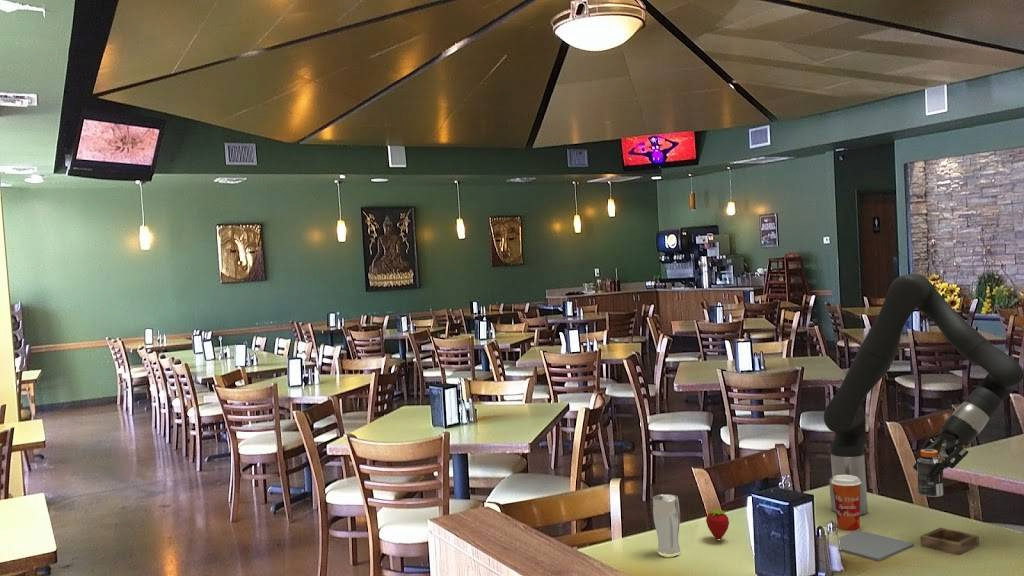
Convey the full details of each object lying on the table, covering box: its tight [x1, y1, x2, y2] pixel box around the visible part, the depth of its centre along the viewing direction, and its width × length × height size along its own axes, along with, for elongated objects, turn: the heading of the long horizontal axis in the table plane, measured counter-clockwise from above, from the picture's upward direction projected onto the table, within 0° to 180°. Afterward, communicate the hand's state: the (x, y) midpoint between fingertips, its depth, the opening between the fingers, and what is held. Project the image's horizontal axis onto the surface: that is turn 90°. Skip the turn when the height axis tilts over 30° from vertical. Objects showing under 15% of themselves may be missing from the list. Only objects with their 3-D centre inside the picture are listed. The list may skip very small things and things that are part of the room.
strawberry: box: [705, 503, 730, 540], centre depth 224 cm, size 6×8×10 cm
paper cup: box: [831, 475, 861, 531], centre depth 228 cm, size 8×8×14 cm
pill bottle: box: [916, 448, 945, 498], centre depth 209 cm, size 6×6×11 cm
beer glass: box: [652, 493, 681, 554], centre depth 217 cm, size 7×7×15 cm
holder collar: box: [920, 527, 980, 556], centre depth 209 cm, size 10×10×2 cm
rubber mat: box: [839, 529, 915, 562], centre depth 212 cm, size 16×16×1 cm
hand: (923, 473), depth 209 cm, fingers closed on pill bottle, 6 cm apart
